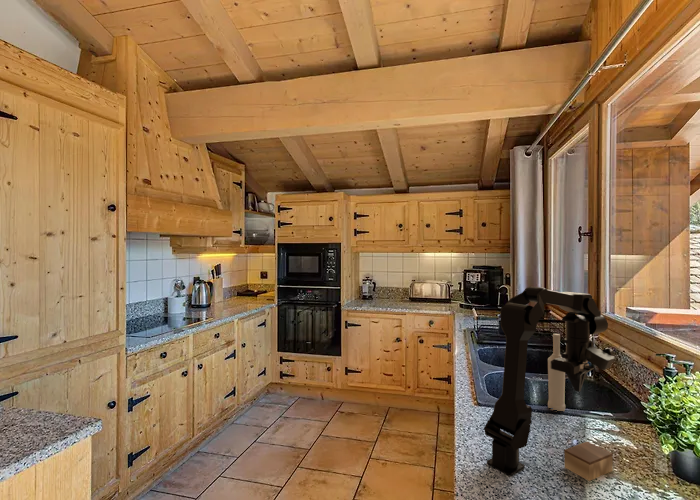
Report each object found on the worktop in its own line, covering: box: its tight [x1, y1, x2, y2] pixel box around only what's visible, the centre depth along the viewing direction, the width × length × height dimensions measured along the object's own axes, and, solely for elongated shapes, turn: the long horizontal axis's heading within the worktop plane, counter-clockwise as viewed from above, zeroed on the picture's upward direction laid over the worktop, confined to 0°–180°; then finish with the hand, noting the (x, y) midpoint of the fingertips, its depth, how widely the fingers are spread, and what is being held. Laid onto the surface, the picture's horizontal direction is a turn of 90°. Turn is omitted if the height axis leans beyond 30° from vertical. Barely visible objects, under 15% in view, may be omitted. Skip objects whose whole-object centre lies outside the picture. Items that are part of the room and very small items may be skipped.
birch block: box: [563, 441, 614, 482], centre depth 90 cm, size 4×6×9 cm
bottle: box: [547, 333, 566, 412], centre depth 124 cm, size 5×5×25 cm
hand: (577, 391), depth 105 cm, fingers closed
